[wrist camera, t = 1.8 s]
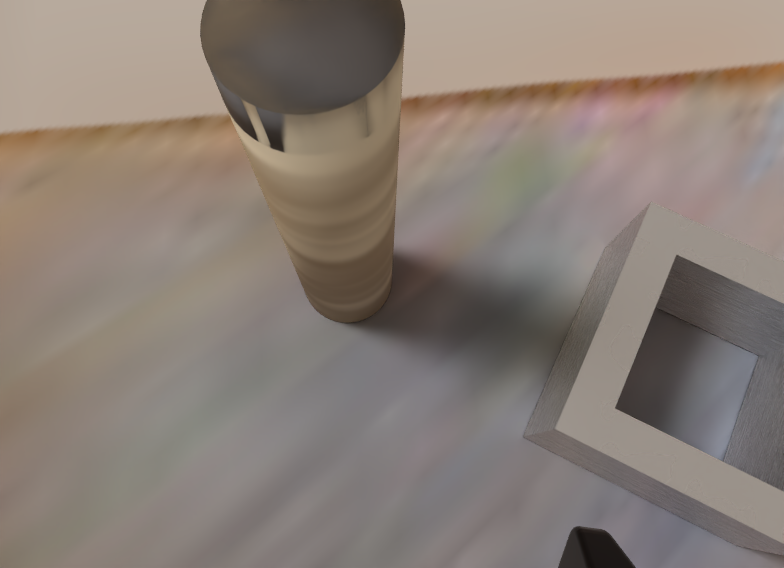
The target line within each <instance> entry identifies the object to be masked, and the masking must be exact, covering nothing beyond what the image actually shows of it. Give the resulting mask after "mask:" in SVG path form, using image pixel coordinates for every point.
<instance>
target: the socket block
mask: <svg viewBox="0 0 784 568" xmlns="http://www.w3.org/2000/svg"><path fill="white" fill-rule="evenodd" d="M655 307H656V308H659V309H661V310H663V311H665V312H667V313H669V314H671V315H673V316H676V317H678V318H680V319H682V320H684V321H686V322H688V323H690V324H693V325H695V326H697V327H699V328H701V329H703V330H705V331H707V332H710V333H712V334H714V335H716V336H718V337H720V338H722V339H724V340H727V341H729V342H731V343H733V344H735V345H737V346H739V347H741V348H744V349H746V350H748V351H750V352H752V353H754V354H756V355H758V356H759V358H758V361H757V364H756V367H755V370H754V372H753V375H752V378H751V381H750V384H749V387H748V390H747V393H746V396H745V399H744V402H743V404H742V407H741V410H740V413H739V416H738V419H737V422H736V425H735V428H734V431H733V434H732V436H731V439H730V442H729V445H728V448H727V451H726V454H725V457H724V460H723V461H721V460H719V459H717V458H715V457H712V456H710V455H708V454H706V453H704V452H702V451H700V450H698V449H696V448H694V447H692V446H690V445H688V444H686V443H684V442H682V441H680V440H678V439H676V438H674V437H672V436H670V435H668V434H666V433H664V432H662V431H660V430H658V429H656V428H654V427H652V426H650V425H648V424H646V423H644V422H642V421H639V420H637V419H635V418H633V417H631V416H629V415H627V414H625V413H623V412H621V411H619V410H617V409H615V407H616V404H617V402H618V399H619V397H620V394H621V392H622V389H623V387H624V384H625V382H626V379H627V377H628V374H629V372H630V369H631V367H632V364H633V362H634V359H635V357H636V354H637V352H638V349H639V347H640V344H641V342H642V339H643V337H644V334H645V332H646V329H647V327H648V324H649V322H650V319H651V317H652V314H653V312H654V309H655ZM523 437H524V438H526V439H528V440H530V441H532V442H534V443H536V444H537V445H539V446H541V447H543V448H545V449H547V450H549V451H551V452H553V453H555V454H557V455H559V456H561V457H563V458H565V459H567V460H569V461H571V462H573V463H575V464H577V465H579V466H581V467H583V468H585V469H587V470H589V471H591V472H593V473H595V474H597V475H599V476H600V477H602V478H604V479H606V480H608V481H610V482H612V483H614V484H616V485H618V486H620V487H622V488H624V489H626V490H628V491H630V492H632V493H634V494H636V495H638V496H640V497H642V498H644V499H646V500H648V501H650V502H652V503H654V504H656V505H658V506H660V507H662V508H664V509H665V510H667V511H669V512H671V513H673V514H675V515H677V516H679V517H681V518H683V519H685V520H687V521H689V522H691V523H693V524H695V525H697V526H699V527H701V528H703V529H705V530H707V531H709V532H711V533H713V534H715V535H717V536H719V537H721V538H723V539H725V540H727V541H729V542H730V543H732V544H734V545H736V546H740V547H745V548H749V549H754V550H759V551H764V552H769V553H774V554H778V555H783V556H784V261H782V260H780V259H778V258H775V257H773V256H771V255H769V254H767V253H764V252H762V251H760V250H758V249H755V248H753V247H751V246H749V245H747V244H744V243H742V242H740V241H738V240H735V239H733V238H731V237H729V236H727V235H724V234H722V233H720V232H718V231H715V230H713V229H711V228H709V227H707V226H704V225H702V224H700V223H698V222H696V221H693V220H691V219H689V218H687V217H684V216H682V215H680V214H678V213H676V212H673V211H671V210H669V209H667V208H664V207H662V206H660V205H658V204H656V203H653V202H650V203H649V204H648V205H647V206H646V207H645V208H644V209H643V210H642V211H641V212H640V213H639V214H638V215H637V216H636V217H635V218H634V219H633V220H632V221H631V222H630V223H629V224H628V226H627V227H626V228H625V229H624V230H623V231H622V232H621V233H620V234H619V235H618V236H617V237H616V238H615V239H614V240H613V241H612V242H611V243H610V244H609V245H608V246H607V247H606V248H605V249H604V252H603V254H602V256H601V258H600V261H599V263H598V265H597V268H596V270H595V272H594V275H593V277H592V279H591V281H590V284H589V286H588V288H587V291H586V293H585V295H584V297H583V300H582V302H581V304H580V307H579V309H578V311H577V313H576V316H575V318H574V320H573V323H572V325H571V327H570V330H569V332H568V334H567V336H566V339H565V341H564V343H563V346H562V348H561V350H560V352H559V355H558V357H557V359H556V362H555V364H554V366H553V369H552V371H551V373H550V375H549V378H548V380H547V382H546V385H545V387H544V389H543V391H542V394H541V396H540V398H539V401H538V403H537V405H536V408H535V410H534V412H533V414H532V417H531V419H530V421H529V424H528V426H527V428H526V430H525V433H524V435H523Z"/></svg>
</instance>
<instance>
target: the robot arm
mask: <svg viewBox="0 0 784 568" xmlns="http://www.w3.org/2000/svg"><path fill="white" fill-rule="evenodd" d="M558 568H636V567H635V566H634V565H633V563H632V562H631V561H630V559H629V558H628V557H627V556H626V554H625V553H624V552H623V550H622V549H621V548H620V546H619V545H618V544H617V543H616V541H615V540H614V539H613V537H612V536H611V535H610V534H609V533H608V532H606V531H605V530H602V529H596V528H588V527H581V526H577V527H574V528H573V529H572V531H571V532H570V535H569V537H568V540H567V543H566V546H565V549H564V552H563V555H562V558H561V561H560V564H559V567H558Z"/></svg>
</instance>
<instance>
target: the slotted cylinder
mask: <svg viewBox="0 0 784 568" xmlns="http://www.w3.org/2000/svg"><path fill="white" fill-rule="evenodd" d="M200 32H201V33H200V34H201V35H200V36H201V42H202V48H203V51H204V55H205V58H206V60H207V63H208V65H209V67H210V70H211V72H212V75H213V77H214V79H215V82H216V84H217V86H218V89H219V91H220V93H221V96H222V98H223V100H224V103H225V105H226V107H227V110H228V112H229V114H230V117H231V119H232V122H233V124H234V126H235V129H236V131H237V133H238V136H239V138H240V140H241V143H242V145H243V147H244V150H245V152H246V154H247V157H248V159H249V161H250V164H251V166H252V169H253V171H254V173H255V176H256V178H257V180H258V183H259V185H260V187H261V190H262V192H263V194H264V197H265V199H266V201H267V204H268V206H269V208H270V211H271V213H272V216H273V218H274V220H275V223H276V225H277V227H278V230H279V232H280V234H281V237H282V239H283V241H284V244H285V246H286V248H287V251H288V253H289V255H290V258H291V260H292V263H293V265H294V267H295V270H296V272H297V274H298V277H299V279H300V281H301V284H302V286H303V288H304V291H305V293H306V295H307V298H308V300H309V302H310V303H311V305H312V306H313V307H314V308H315V309H316V310H317V311H318V312H319V313H320V314H321V315H323V316H325V317H326V318H328V319H331V320H334V321H337V322H345V323H350V322H357V321H361V320H364V319H366V318H368V317H370V316H372V315H373V314H375V313H376V312H377V311H378V310H379V309H380V308H381V307H382V306H383V305H384V303H385V302H386V300H387V298H388V296H389V293H390V290H391V285H392V266H393V247H394V227H395V208H396V189H397V170H398V151H399V131H400V112H401V93H402V73H403V54H404V35H405V19H404V12H403V8H402V4H401V1H400V0H207V2H206V4H205V7H204V10H203V13H202V19H201V31H200Z"/></svg>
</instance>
